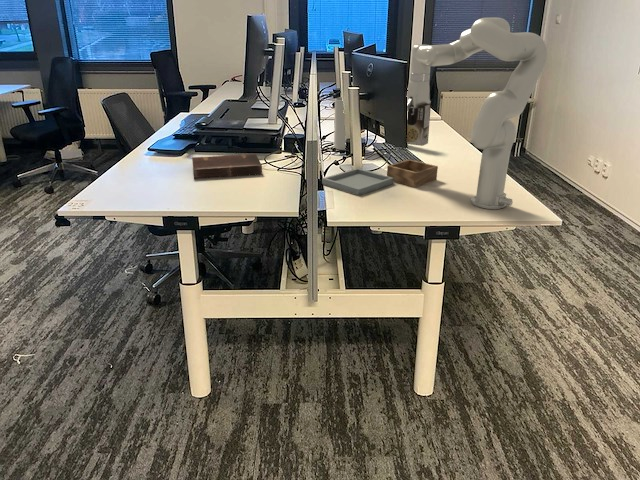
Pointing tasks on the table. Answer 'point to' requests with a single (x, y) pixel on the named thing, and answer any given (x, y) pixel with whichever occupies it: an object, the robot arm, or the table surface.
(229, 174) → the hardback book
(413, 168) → the walnut sleeve
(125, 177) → the table surface
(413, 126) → the coffee box
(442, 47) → the robot arm
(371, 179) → the slate tray
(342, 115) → the cylinder vase
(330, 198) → the table surface
